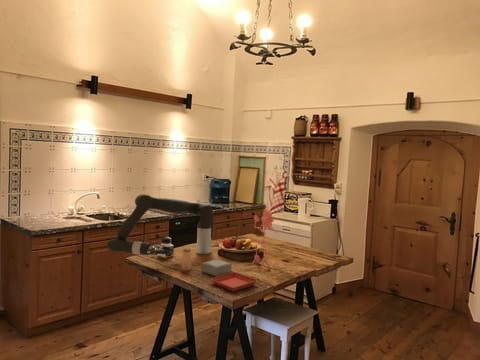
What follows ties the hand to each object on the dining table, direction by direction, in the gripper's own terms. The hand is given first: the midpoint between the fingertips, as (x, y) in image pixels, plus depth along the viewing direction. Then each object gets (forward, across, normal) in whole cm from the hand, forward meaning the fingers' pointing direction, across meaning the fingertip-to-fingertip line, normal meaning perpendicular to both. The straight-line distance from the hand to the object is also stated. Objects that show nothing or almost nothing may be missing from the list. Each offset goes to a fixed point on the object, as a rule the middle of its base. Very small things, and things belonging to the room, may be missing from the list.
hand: (167, 250), depth 237 cm
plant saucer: (+42, -19, +11) cm, 47 cm away
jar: (+12, 0, +10) cm, 16 cm away
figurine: (+57, +20, +10) cm, 61 cm away
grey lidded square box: (+30, 0, +10) cm, 31 cm away
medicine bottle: (-8, +24, +10) cm, 28 cm away
